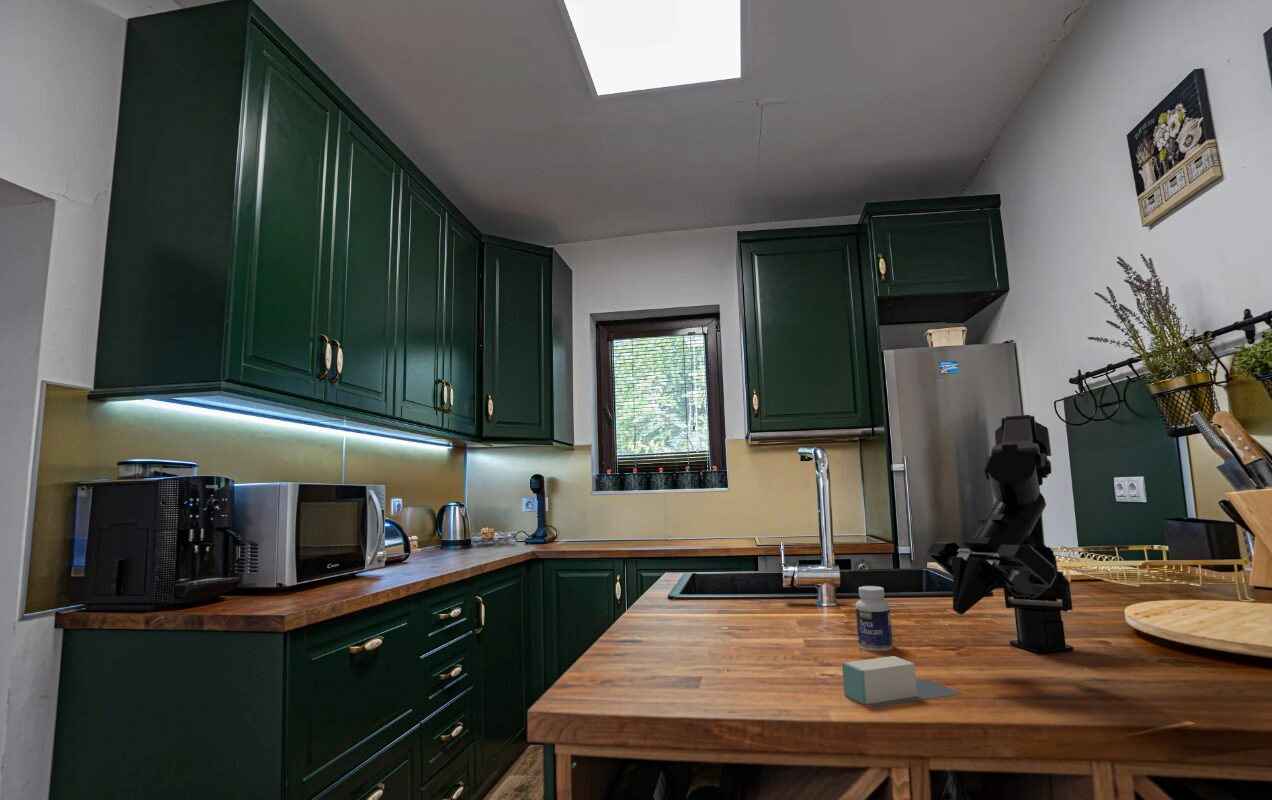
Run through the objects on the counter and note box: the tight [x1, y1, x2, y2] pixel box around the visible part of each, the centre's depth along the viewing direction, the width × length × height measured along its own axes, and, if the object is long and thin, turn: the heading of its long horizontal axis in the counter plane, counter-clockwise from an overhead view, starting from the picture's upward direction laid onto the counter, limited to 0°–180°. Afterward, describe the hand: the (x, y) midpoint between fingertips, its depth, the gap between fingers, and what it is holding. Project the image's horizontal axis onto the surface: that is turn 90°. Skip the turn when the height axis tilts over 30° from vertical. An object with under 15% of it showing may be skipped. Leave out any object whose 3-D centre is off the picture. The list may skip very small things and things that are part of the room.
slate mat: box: [869, 678, 964, 708], centre depth 86 cm, size 13×7×1 cm, turn 106°
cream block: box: [841, 655, 917, 705], centre depth 86 cm, size 4×4×8 cm
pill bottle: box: [855, 585, 894, 652], centre depth 110 cm, size 5×5×10 cm
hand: (957, 612), depth 90 cm, fingers closed
